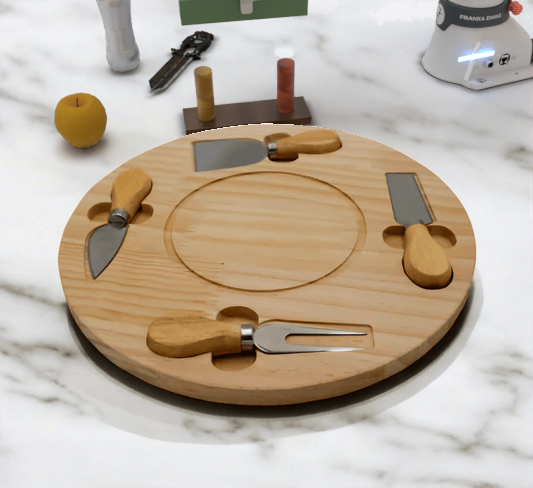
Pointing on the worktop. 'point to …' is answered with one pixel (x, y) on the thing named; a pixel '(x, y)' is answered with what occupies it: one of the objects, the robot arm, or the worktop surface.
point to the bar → (237, 10)
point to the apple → (80, 119)
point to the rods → (246, 104)
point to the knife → (184, 61)
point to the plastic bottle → (119, 34)
